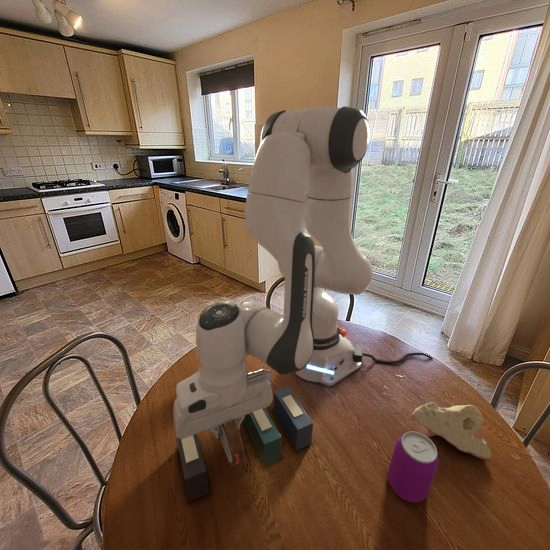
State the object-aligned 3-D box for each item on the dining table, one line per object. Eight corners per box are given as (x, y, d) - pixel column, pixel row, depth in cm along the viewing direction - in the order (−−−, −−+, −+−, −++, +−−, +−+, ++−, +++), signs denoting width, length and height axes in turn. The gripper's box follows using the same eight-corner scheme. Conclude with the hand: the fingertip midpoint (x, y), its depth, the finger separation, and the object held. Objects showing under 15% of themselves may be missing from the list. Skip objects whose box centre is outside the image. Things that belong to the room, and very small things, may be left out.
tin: (245, 471, 58) (247, 442, 55) (230, 478, 57) (231, 448, 53) (223, 413, 70) (223, 386, 67) (210, 417, 69) (210, 390, 66)
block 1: (196, 441, 68) (193, 420, 65) (209, 492, 58) (206, 469, 55) (178, 448, 66) (174, 426, 63) (188, 502, 57) (184, 479, 54)
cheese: (486, 443, 71) (448, 383, 76) (508, 448, 64) (466, 382, 69) (434, 473, 69) (399, 409, 74) (451, 483, 62) (411, 412, 67)
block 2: (259, 416, 74) (259, 395, 71) (280, 458, 65) (281, 436, 62) (244, 422, 73) (243, 401, 70) (264, 466, 63) (264, 444, 60)
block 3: (286, 405, 78) (287, 385, 75) (311, 444, 68) (313, 422, 65) (273, 411, 76) (273, 390, 73) (296, 451, 66) (297, 429, 63)
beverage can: (406, 512, 56) (420, 473, 51) (378, 474, 62) (388, 435, 57) (435, 495, 59) (451, 456, 54) (405, 460, 65) (417, 422, 60)
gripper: (265, 357, 63) (265, 403, 69) (167, 387, 55) (175, 437, 61) (278, 376, 58) (276, 424, 64) (172, 413, 50) (181, 465, 56)
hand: (226, 431), depth 62 cm, fingers closed on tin, 2 cm apart
